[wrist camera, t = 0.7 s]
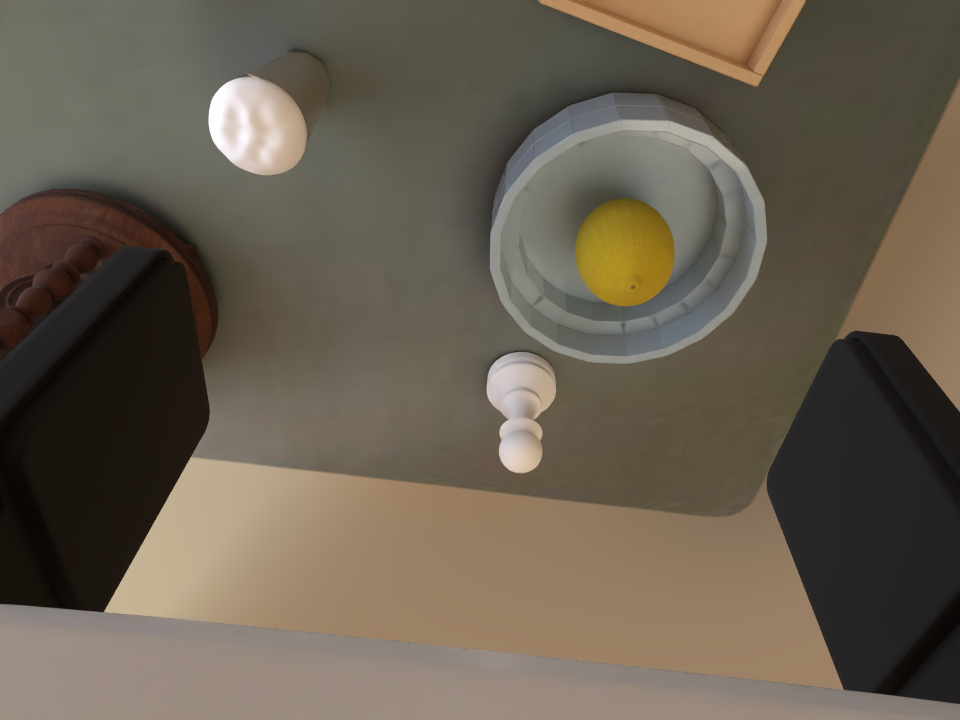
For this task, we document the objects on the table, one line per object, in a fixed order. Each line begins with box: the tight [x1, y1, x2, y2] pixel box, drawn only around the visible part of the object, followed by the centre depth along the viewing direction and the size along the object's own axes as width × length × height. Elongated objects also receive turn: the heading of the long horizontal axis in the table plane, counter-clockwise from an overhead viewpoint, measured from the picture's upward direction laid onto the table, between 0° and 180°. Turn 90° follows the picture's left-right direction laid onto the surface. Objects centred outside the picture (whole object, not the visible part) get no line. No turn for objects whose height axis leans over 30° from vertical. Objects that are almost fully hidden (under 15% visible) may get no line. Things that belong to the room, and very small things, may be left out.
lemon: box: [575, 198, 675, 306], centre depth 39 cm, size 6×6×8 cm
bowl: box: [490, 93, 767, 364], centre depth 40 cm, size 15×15×5 cm
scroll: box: [0, 189, 218, 361], centre depth 39 cm, size 15×15×20 cm
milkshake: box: [209, 51, 331, 175], centre depth 34 cm, size 5×5×10 cm
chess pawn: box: [487, 352, 556, 473], centre depth 47 cm, size 5×5×9 cm
